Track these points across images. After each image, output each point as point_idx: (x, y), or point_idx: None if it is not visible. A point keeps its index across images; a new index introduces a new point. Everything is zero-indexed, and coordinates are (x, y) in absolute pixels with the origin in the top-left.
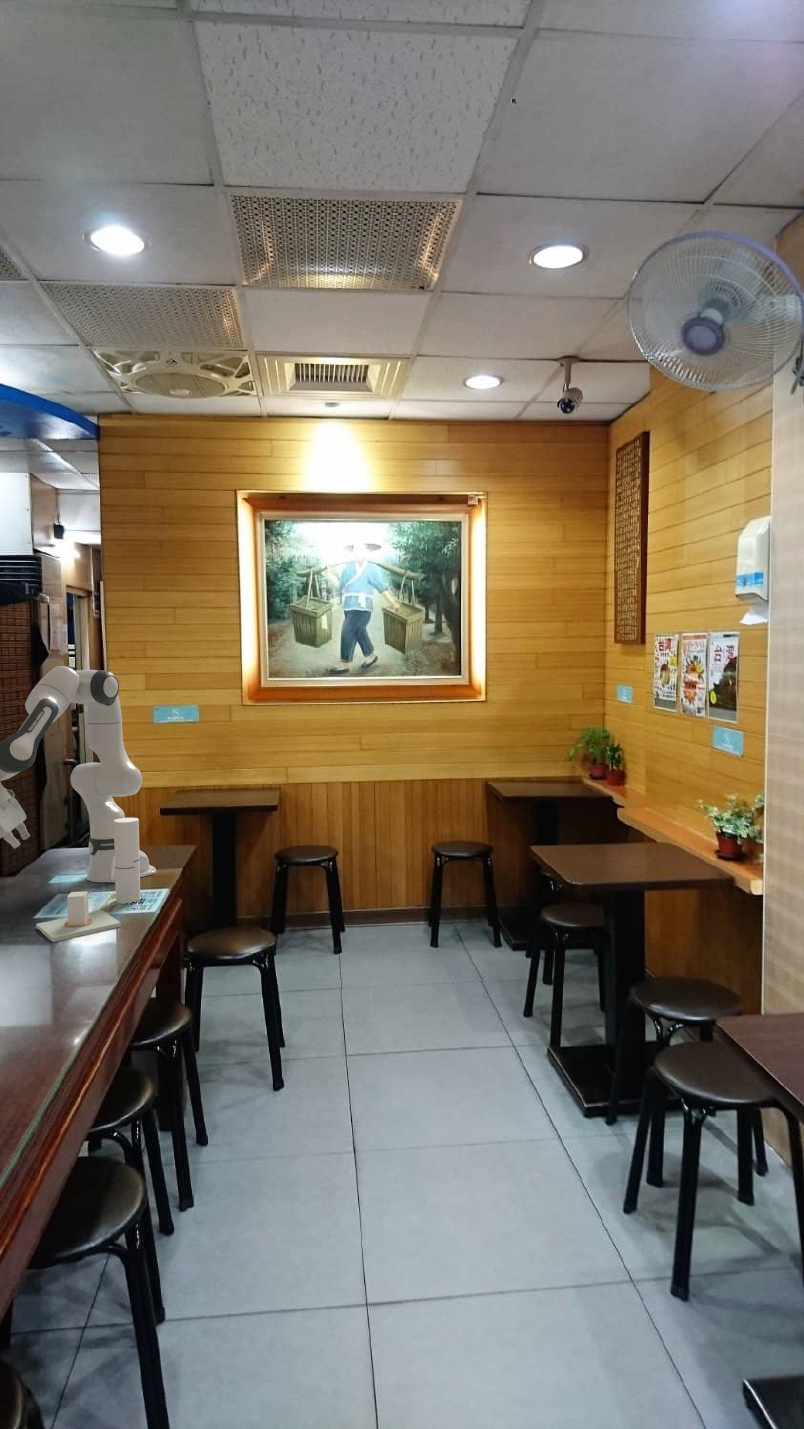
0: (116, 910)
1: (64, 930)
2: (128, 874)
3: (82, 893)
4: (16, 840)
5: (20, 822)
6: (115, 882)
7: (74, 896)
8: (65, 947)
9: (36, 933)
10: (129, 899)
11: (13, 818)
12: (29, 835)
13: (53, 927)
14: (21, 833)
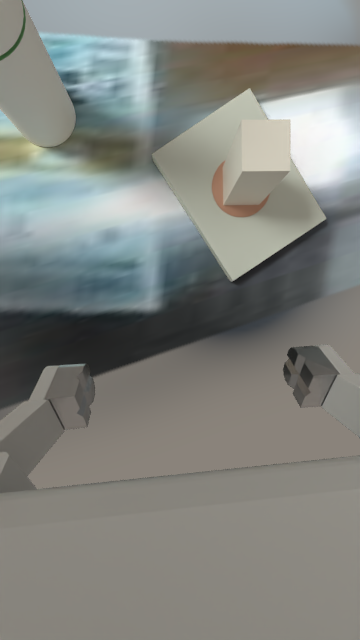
0: (127, 130)
1: (285, 205)
2: (35, 28)
3: (262, 131)
4: (348, 370)
5: (80, 492)
6: (28, 108)
7: (289, 149)
8: (353, 187)
9: (262, 271)
10: (70, 99)
11: (244, 634)
12: (56, 366)
13: (261, 236)
14: (58, 430)
